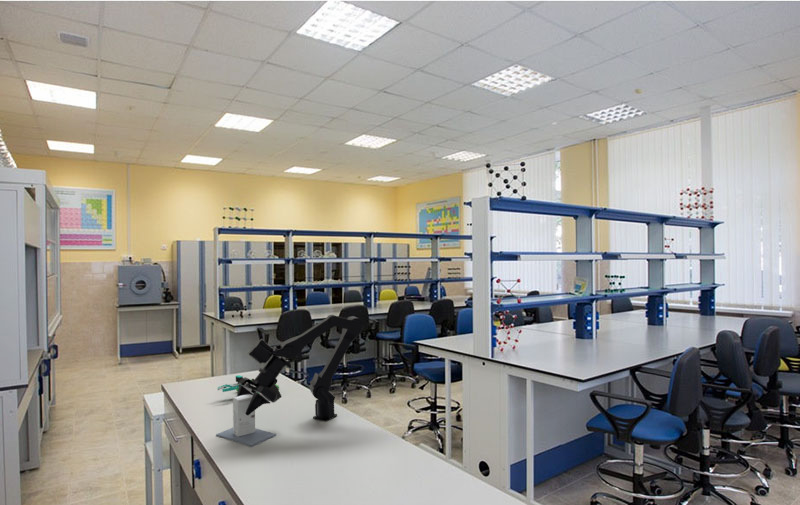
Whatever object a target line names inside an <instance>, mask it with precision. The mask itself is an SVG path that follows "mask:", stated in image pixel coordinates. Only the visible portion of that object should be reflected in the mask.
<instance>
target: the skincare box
mask: <svg viewBox="0 0 800 505" xmlns="http://www.w3.org/2000/svg"><path fill="white" fill-rule="evenodd" d="M252 397H253V395H251V394H247V395H242V396H238V397H237V396H234V397H232V414H233V415H232V421H233V427H232V428H233V433H234V434H235V435H236V436H238V437H239V436H243V435H247V434H250V433H254V432H255V428H256V410H254V411H253V412H252V413H251V414H249V415H246V414H245V413H246V410H247V408H248V406H249V404H250V401H251V399H252Z"/></svg>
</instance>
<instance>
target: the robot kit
mask: <svg viewBox="0 0 800 505" xmlns="http://www.w3.org/2000/svg"><path fill="white" fill-rule="evenodd" d="M242 378H244V376H243V375H240V374H239V375H235V382H236V383H231V384H227V383H226V384H223V385H221V386H218V387H217V391H222V392H223V393H225V392H230V391H237V393H238V389H239V384H240V383H238V382H239V381H240V380H241V379H242ZM252 379H253V378H251V379H250V380H252ZM240 385H241V384H240ZM275 385H276V387H277V388H278V390H279V391H280V385H279V384H277V383H276V384H275ZM251 393H252V392H251ZM257 393H258V392H257ZM252 394H254V393H252Z"/></svg>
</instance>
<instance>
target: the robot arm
mask: <svg viewBox="0 0 800 505" xmlns="http://www.w3.org/2000/svg"><path fill="white" fill-rule="evenodd" d="M334 327H336V328H341V329H342V330H341V335H340V338H339V340H338V342H337V344H336V345H335V347H334V349H333V350H332V352H331V354H330V356H329V358H328V360H327V361H326V364H325V365H324V367H323V369H322V370H321V371H320V372H319V373H317V372H315V373H314V375H313V377H312V379H311V380H310V381H309V384H310V385H309V390H310V393H311V394H312V396H313V397H314V398H315V399H316V400H315V405H314V406H315V409H314V410H315V411H314V412H315V415H314V416H313V417H312V419H314V420H318V421H319V420H320V421H325V422H327V421H329V420H331V419H333V418H335V417H338V414H337V413H335V399H336V396H335V395H334V394H333V393H332V391H330V390H331V386H332V384H333V383H332V382H333V377H334V375H335V373H336V371H337V370H338V367H339V366H340V364H341V363H342V362H341V361H342V360H343V359H344V357H345V355H346V353H347V351H348V349H349V347H350V346H351V344H352V342H353V341H354V340H355V339H356V338H357V337H359V335H360V334H361V332H362V331H363V330H364V327H365V325H364V321H363V319H361V318H359V317H356V316H353V315H352V316H347V317H345V316H341V315H334V314H329V315H327V317H325V318H324V319H322V320H321V321H319V322H318V323H317V324H315V325H313V326H312V327H310V328H309V329H307V330H306V331H304V332H303V333H301V334H299V335H297V336H294V337H291V338H289V339H286V340H284V341H283V342H282V343H281V344H278V345H274V346H271V345H270V344H268V342H266V341H265V340H264V339H263V338H261V339H260V340H259V341H257V342H256V343H255V344H253V346H251V348H250V349H249V351H247V352H248V353H247V355H248V356H250V358H252V359H253V360H254V361H256V362H258V363H259V364H265V365H264V366H263V368H259V369H258V372H259V373H258V375H257V376H256V377H255V378H251V379H252V380H251V379H250V378H248V377H247V376H246V377H245V376H244V377H243V378H242V379H241V380H240V381H239V382H237V383H240V384H241V385H240V384H239V389H238V392H237V395H236V397H238V396H242V395H247V394H251V395H253V397H252V399H251V401H250V404H249V406H248V408H247V410H246V413H245V414H246V415H249V414H251V413H252V412H253V411H254V410H255V411H256V410H257V409H258V408H260V407H261V406H263V405H266V404H269V405H270V404H271V403H273V404H275V402H277V401H278V400H280V398H282V394H281V392H280V389H279V390H278V388H277V387H276V385H275V384H277V383H278V379H277V378H278V377H279V375H280V374H281V372H282V371H283V370H284V368H286V369H292V364H291V362H292V359H294V358H296V357H298V355H299V354H300V353H301V352H303V350H304V348H306V346H308V344H310V343H312V342H313V341H314V340H316V339H317V338H319V337H321V336H322V335H323V334H325V333H327V331H329V330H330V329H333V328H334ZM288 359H289V360H288ZM257 392H258V393H257ZM252 393H254V394H252Z"/></svg>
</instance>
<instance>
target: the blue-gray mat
mask: <svg viewBox="0 0 800 505" xmlns="http://www.w3.org/2000/svg"><path fill="white" fill-rule="evenodd" d="M215 436H216V437H219V438H221V439H225V440H228V441H231V442H236V443H238V444H241V445H245V446H248V447H255V446H257V445H258V444H259V445H260V443H263V442H266V441H267V440H269V439H272V438H274V437H276V436H277V433H274V432H271V431H266V430H264V429H263V430H262V429H260V428H256V427H255V432H254V433H250V434H247V435H243V436H239V437H238V436H236V435H235V434H234V433H233V427H231V428H229V429H226V430H223V431H220V432H219V433H216V434H215Z"/></svg>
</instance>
